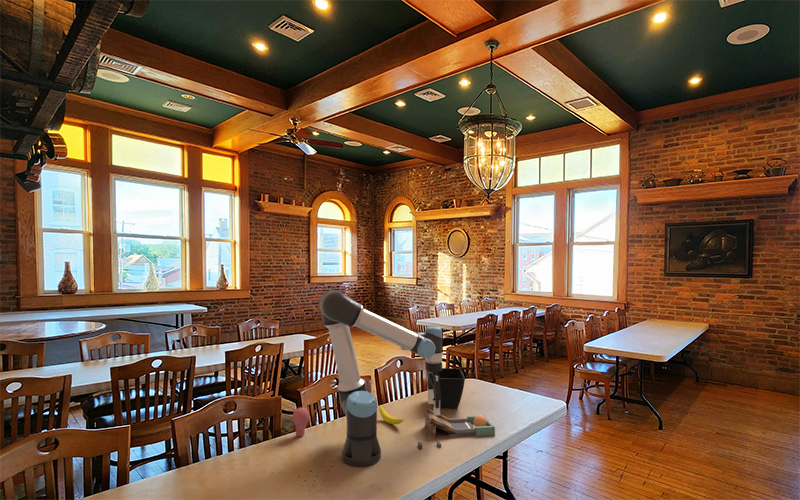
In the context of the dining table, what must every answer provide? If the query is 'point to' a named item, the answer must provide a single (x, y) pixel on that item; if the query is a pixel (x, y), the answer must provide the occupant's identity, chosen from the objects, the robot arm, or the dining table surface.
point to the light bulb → (300, 420)
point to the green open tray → (483, 427)
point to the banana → (389, 417)
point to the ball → (480, 421)
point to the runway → (462, 427)
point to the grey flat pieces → (437, 444)
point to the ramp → (437, 423)
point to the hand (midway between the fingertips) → (433, 409)
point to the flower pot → (450, 387)
